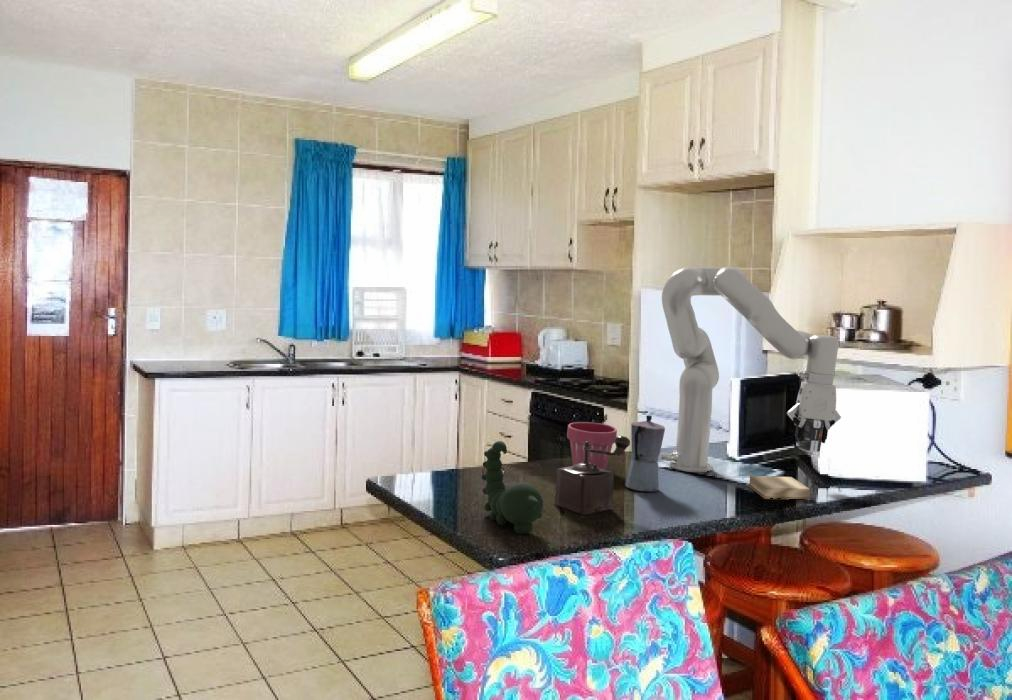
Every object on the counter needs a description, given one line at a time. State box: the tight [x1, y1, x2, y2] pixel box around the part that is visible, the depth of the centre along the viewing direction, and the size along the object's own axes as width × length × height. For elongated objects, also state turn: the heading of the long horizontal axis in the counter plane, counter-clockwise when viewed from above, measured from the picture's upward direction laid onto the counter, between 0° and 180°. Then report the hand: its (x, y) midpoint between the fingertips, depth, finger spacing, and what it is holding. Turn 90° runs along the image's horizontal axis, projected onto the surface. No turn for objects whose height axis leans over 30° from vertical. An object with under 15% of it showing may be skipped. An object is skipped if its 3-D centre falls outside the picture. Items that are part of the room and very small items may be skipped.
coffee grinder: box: [554, 435, 631, 516], centre depth 217 cm, size 16×11×18 cm
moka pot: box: [624, 414, 666, 492], centre depth 236 cm, size 10×15×20 cm, turn 155°
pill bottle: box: [797, 419, 824, 453], centre depth 249 cm, size 6×6×11 cm
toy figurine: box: [481, 440, 544, 535], centre depth 199 cm, size 9×19×25 cm
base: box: [747, 475, 811, 500], centre depth 240 cm, size 13×13×3 cm
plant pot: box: [566, 421, 618, 470], centre depth 253 cm, size 14×14×13 cm
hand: (810, 440), depth 249 cm, fingers closed on pill bottle, 6 cm apart
